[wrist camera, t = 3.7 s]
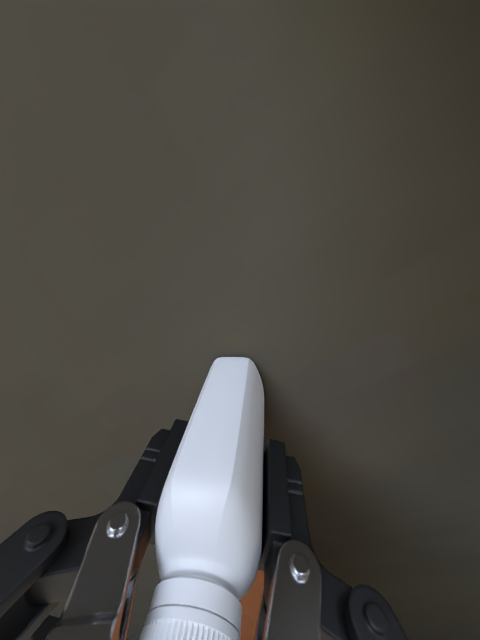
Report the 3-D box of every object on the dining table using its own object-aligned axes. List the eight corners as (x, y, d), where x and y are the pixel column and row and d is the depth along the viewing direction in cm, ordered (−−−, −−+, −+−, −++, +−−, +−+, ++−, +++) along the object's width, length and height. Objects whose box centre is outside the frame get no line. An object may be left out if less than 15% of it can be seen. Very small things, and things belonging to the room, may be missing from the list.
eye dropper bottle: (188, 409, 15) (-24, 892, 4) (223, 341, 13) (-11, 944, 2) (247, 436, 16) (199, 954, 4) (291, 375, 14) (404, 1054, 2)
